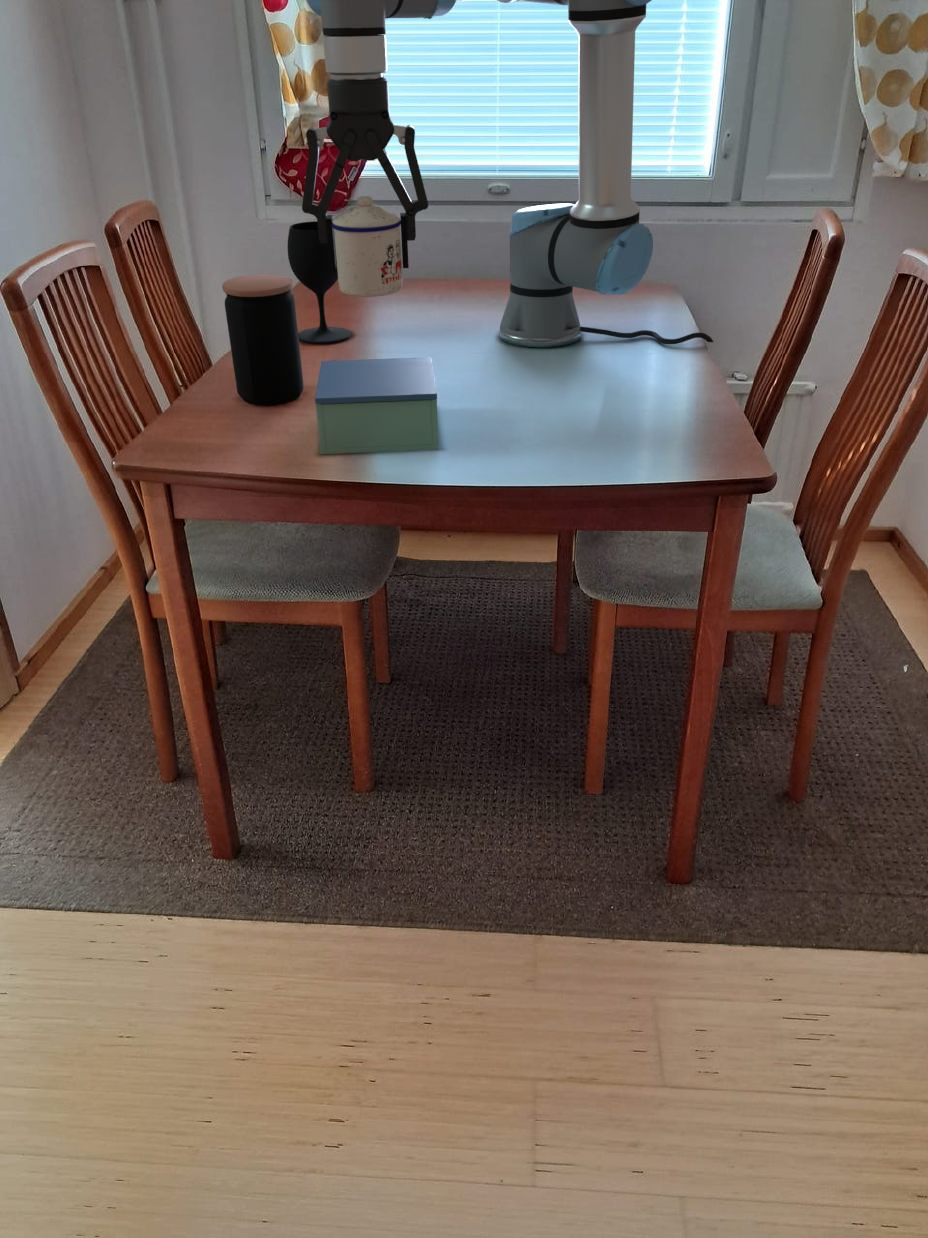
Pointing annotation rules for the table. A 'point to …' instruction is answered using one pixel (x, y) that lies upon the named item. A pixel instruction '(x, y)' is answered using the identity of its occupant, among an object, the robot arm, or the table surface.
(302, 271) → the wine glass
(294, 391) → the coffee jar
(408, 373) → the lunchbox lid
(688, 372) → the table surface
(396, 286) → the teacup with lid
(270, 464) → the table surface
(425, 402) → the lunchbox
